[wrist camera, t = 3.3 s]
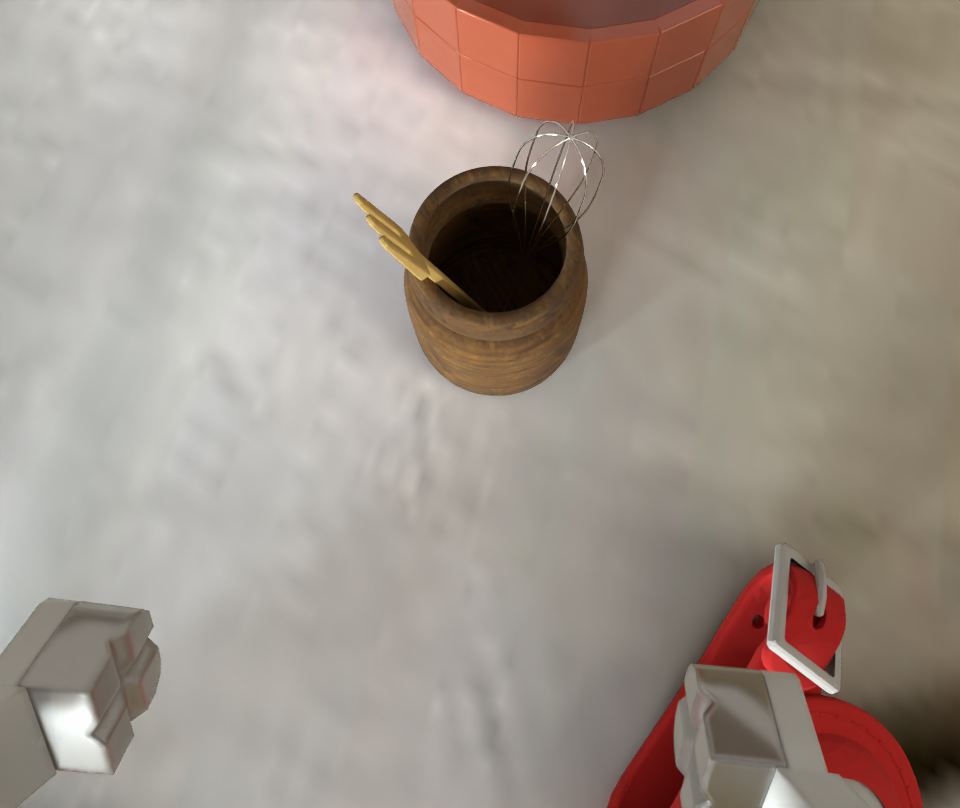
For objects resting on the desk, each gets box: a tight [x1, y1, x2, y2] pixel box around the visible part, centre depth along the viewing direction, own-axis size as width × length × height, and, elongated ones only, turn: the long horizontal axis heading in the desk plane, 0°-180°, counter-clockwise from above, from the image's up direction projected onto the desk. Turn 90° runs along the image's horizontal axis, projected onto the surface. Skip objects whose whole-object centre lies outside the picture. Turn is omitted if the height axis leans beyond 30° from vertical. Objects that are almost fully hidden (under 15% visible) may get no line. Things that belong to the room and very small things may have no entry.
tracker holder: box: [607, 543, 923, 808], centre depth 25 cm, size 12×4×10 cm
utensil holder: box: [353, 119, 605, 396], centre depth 25 cm, size 6×6×12 cm
